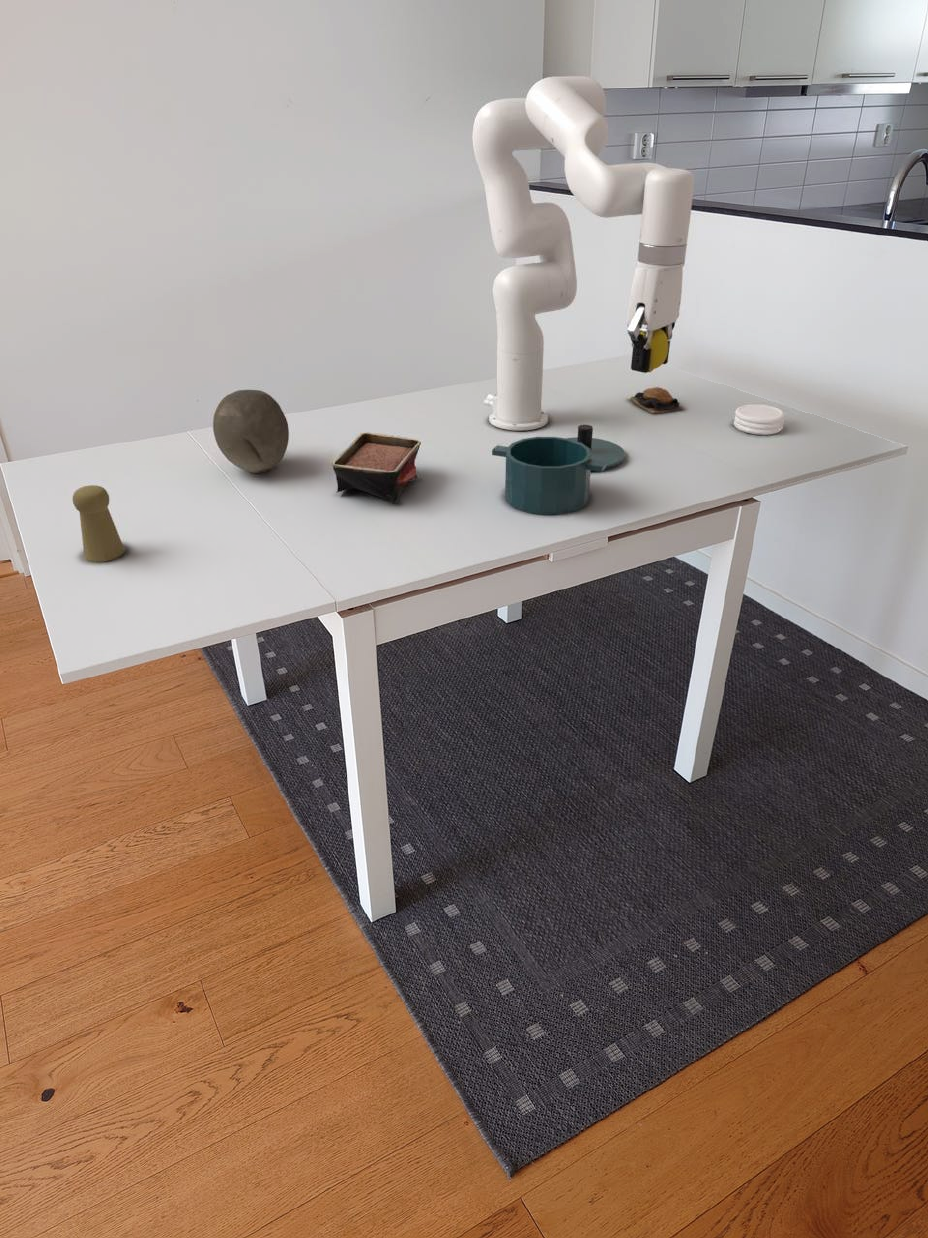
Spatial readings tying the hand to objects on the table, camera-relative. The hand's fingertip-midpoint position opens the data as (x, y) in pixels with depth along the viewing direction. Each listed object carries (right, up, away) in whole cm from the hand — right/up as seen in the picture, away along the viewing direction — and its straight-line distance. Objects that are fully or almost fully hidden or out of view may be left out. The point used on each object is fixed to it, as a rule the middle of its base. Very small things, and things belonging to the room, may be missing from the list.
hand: (649, 365), depth 152 cm
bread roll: (+11, +4, +47) cm, 48 cm away
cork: (-89, -33, -12) cm, 96 cm away
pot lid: (-9, -11, +20) cm, 25 cm away
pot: (-17, -22, +5) cm, 28 cm away
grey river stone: (-71, -15, +17) cm, 75 cm away
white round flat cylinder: (+30, -3, +34) cm, 45 cm away
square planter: (-48, -20, +9) cm, 52 cm away
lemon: (0, -1, +1) cm, 1 cm away
